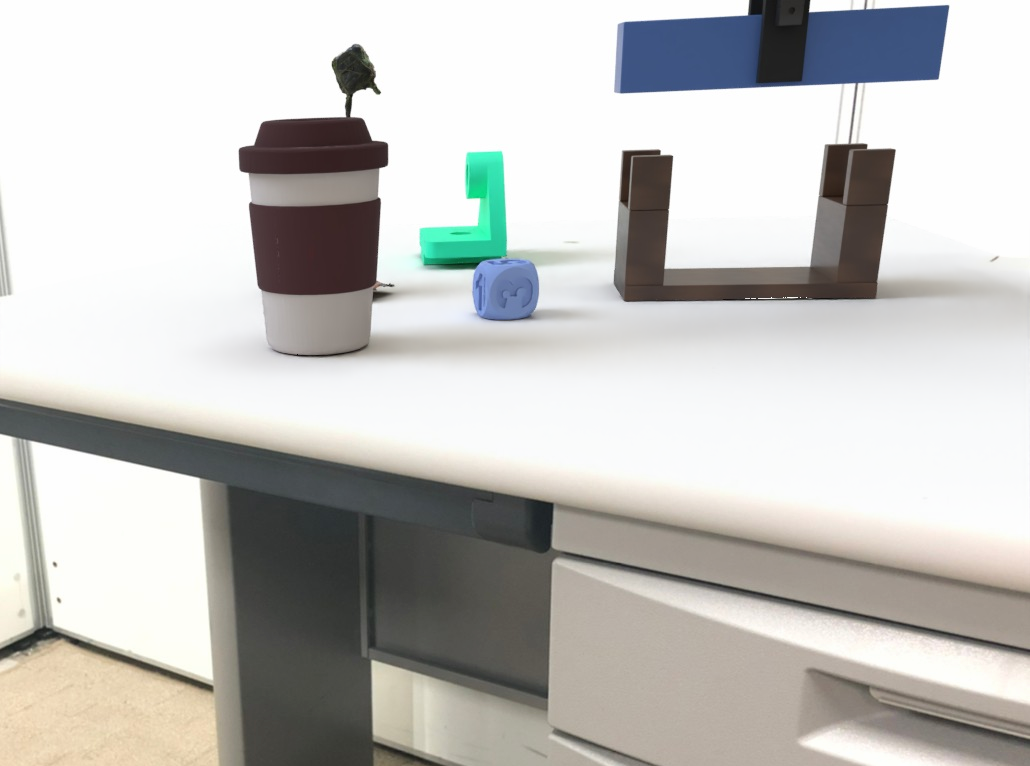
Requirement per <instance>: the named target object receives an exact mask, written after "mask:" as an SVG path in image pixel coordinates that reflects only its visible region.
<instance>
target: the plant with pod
mask: <svg viewBox="0 0 1030 766" xmlns="http://www.w3.org/2000/svg"><path fill="white" fill-rule="evenodd" d="M331 68H332V70H333V73H334V75H335V79H336V80H335V81H336V82H337V84H338V88H339V90H340V92H341V93H342V94H345V96H346V97H345V102H344V103H345V104H344V110H345V117H352V116H351V115H352V108H353V96H354V94H355V93H357V92H359V91H366V90H367V89H371V90H372V92H373V93H375V95H378V96H380V95H381V94H382V91H381V90H380V89H379V87H378V86H377V83H375V79H376V77H377V71H376V70H375V65H374V64H373V62H371V60H370V57H369V55H368V53H367V51H366V50H365V49H364V47H363V46H362V45H361V44H359V43H353V44H352V45H351V46H350V47H348V48H346V49H345V50H344V51H341V53H339V54H338V55H337V56H335V57H334V58H333V59H332V60H331ZM379 287H383V288H393V287H395V284H394V283H391V282H389V284H388V283H383V282H380V281H378V280H376V284H375V285H374V286H373V292H377V291H378V290H377V289H378V288H379Z"/></svg>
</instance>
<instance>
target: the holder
mask: <svg viewBox="0 0 1030 766" xmlns="http://www.w3.org/2000/svg"><path fill="white" fill-rule="evenodd" d="M868 146H869V145H868V143H864V142H856V143H855V142H854V143H853V142H852V143H826V144H824V148H823V157H822V165H821V173H820V181H819V190H818V197H817V207H816V214H815V222H814V230H813V238H812V239H813V240H812V248H811V257H810V264H809V266H764V267H763V266H761V267H760V266H759V267H758V266H757V267H698V268H697V267H696V268H694V267H693V268H691V267H690V268H687V267H686V268H666V257H667V244H668V243H667V242H668V231H669V230H668V228H669V217H670V205H671V204H670V203H671V193H672V192H671V191H672V180H673V179H672V178H673V165H674V163H673V162H674V155H672V154H662V150H661V149H659V148H655V149H652V148H651V149H623V150H621V158H620V177H619V191H618V192H619V193H618V207H617V225H616V240H615V242H616V243H615V257H614V270H613V285H614V286H615V288H616V290H617V292H618V293H619V295H620V297H621V298H622V300H623V301H624V302H652V301H653V302H655V301H656V302H660V301H661V302H663V301H666V302H667V301H668V302H669V301H670V300H671V301H724V300H723V299H745V298H750V299H751V298H756V299H758V298H771V297H772V298H783V297H784V298H785V297H786V298H787V297H798V298H800V297H801V298H806V297H807V298H860V299H876V297H877V291H878V285H879V283H878V278H879V274H880V273H879V271H880V266H881V265H880V264H881V257H882V251H883V245H884V237H885V230H886V223H887V216H888V209H889V201H890V193H891V186H892V180H893V174H894V173H893V172H894V166H895V159H896V152H897V150H896V149H895V148H891V147H889V148H887V147H886V148H885V147H884V148H868Z"/></svg>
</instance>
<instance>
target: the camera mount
mask: <svg viewBox="0 0 1030 766" xmlns="http://www.w3.org/2000/svg"><path fill="white" fill-rule="evenodd" d="M464 166H465V167H464V182H465V183H464V187H465V188H464V189H465V197H466V198H465V199H466V200H477V199H479V206H478V216H477V217H478V218H477V225H462V226H461V225H460V226H459V225H457V226H433V227H432V226H431V227H420V228H419V247H420V259H421V262H422V264H423V265H424V266H426V265H427V266H428V265H458V264H480V263H481V262H482V261H485V260H492V259H503V257H507V253H508V234H507V233H508V232H507V231H508V230H507V210H506V187H505V186H506V185H505V167H504V154H503V151H502V150H496V151H495V150H493V151H467V152H466V156H465V165H464Z"/></svg>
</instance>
